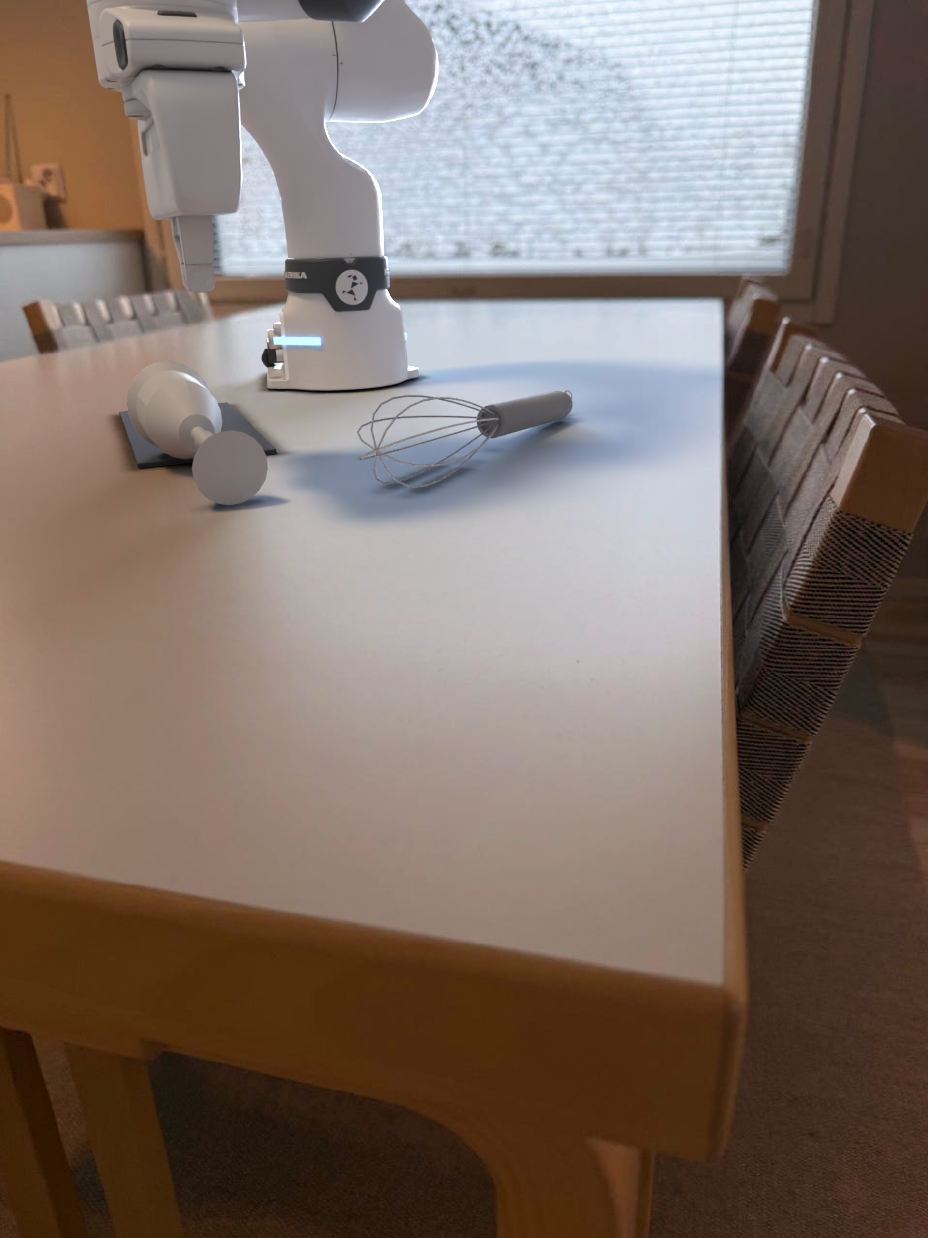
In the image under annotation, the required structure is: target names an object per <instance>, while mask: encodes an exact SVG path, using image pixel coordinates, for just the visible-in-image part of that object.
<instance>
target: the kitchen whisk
mask: <svg viewBox="0 0 928 1238" xmlns="http://www.w3.org/2000/svg"><path fill="white" fill-rule="evenodd" d="M567 392H568V393H569V394H568V393H567ZM402 398H423V399H421V400H418V401H415V402H414V403H412V404H409V405H408V406H407V407H405V408H404V409H403V410H401V411H400V412H399V413H398V414H396V415H395V416H392V417H385V418H380V419H375V415H376V414H377V413H378V411H379V410H380V408H381V407H382V406H383V405H384V404H386V403H389V402H391V401H392V400H397V399H402ZM433 400H434V401H435V400H438V401H443V402H447V403H452V404H455V405H459V406H461V407H462V406H463V407H466V408H468V409H472V410H473V411H478V412H477V416H470V415H467V416H465V415H406V416H405V415H403V416H401V415H402V414H404V413H405V412H407V410H409V409H410V408H411V407H414V406H416V405H419V404H421V403H424V402H429V401H433ZM461 402H463V403H461ZM464 403H465V404H464ZM467 404H470V405H473V406H470V405H467ZM476 407H477V408H476ZM479 408H480V409H479ZM572 409H573V393H572V392H571V391H570V390H568V389H566V390H565V391H560V390H553V391H548V392H545V393H539V394H535V395H529V396H526V397H520V398H516V399H511V400H507V401H502V402H498V403H497V402H496V403H492V404H487V405H485V406H482V405H479V404H478V403H474V402H472V401H469V400H465V399H461V398H457V397H450V396H429V395H421V394H404V395H398V396H393V397H390V398H388V399H385V400H384V401H382V402H380V404H379V405H378V406H377V408H376V409H375V410H374V411H373V413H372V417H371V420H370V421H368V422H365V423H363V424H362V425H360V426H359V428H358V429H357V431H356V434H357V436H358V439H359V440H360V442H361V443H362V444H364V445H365V446H366V447H368V448H370V449H371V450H370V451H369V452H366V453H364V454H362V455H360V456H358V457H357V458H356V460H357V461H364V460H368V459H369V460H370V459H373V458H374V459H373V462H372V463H373V464H372V471H373V476H374V479H375V480H376V481H378V482H380V483H381V484H383V485H389V484H401V485H403V486H405V487H408V488H425V487H429V486H431V485H434V484H437V483H439V482H442V480H444V479H446V478H448V477H449V476H451V475H452V474H454V473H455V472H456V471H457V470H459V469H460V468H461V467H462V466H464V465H465V464H466V463H467V462H468V461H469V460H470V459H471V458H473V456H475V454H476V453H477V452H478V451H479V450H480V449H481V448H482V446H484V445H485V444H487V442H488V441H489V440H490V439H496V438H500V437H504V436H507V435H510V434H514V433H518V432H521V431H525V430H527V429H532V428H536V427H538V426H542V425H546V424H550V423H553V422H557V421H560V420H563V419H565V418H566V417H567V416H568V415H569V414H570V413H571V412H572ZM417 418H452V419H453V418H455V419H456V418H459V419H474V420H469V421H464V422H459V423H455V424H451V425H447V426H442V427H439V428H435V429H430V430H427V431H424V432H421V433H418V434H415V435H411V436H408V437H406V438H403V439H399V440H397V441H394V442H391V443H389V444H386V445H384V446H381V445H382V444H383V443H382V442H383V440H384V438H385V436H386V434H387V431H388V430H389V429H390V428H391V426H392V425H393V424H394V423H395V421H396V420H399V419H417ZM389 420H391V422H390V423H389V424H388V426H387V427H386V428H385V430H384V432H383V434H382V435H381V438H380V441H379V442H378V445H377V442H376V438H375V435H374V431H373V430H374V423H378V422H383V421H389ZM472 423H476V425H475V426H472V427H468V428H466V429H463V430H458V431H456V432H452V433H449V434H446V435H441V436H438V437H435V438H432V439H428V440H424V441H421V442H418V443H414V444H411V445H407V446H404V447H400V448H396V449H393V450H389V451H386V452H381V450H384V449H386V448H389V447H391V446H394V445H396V444H400V443H403V442H405V441H409V440H411V439H415V438H418V437H421V436H424V435H427V434H428V435H429V434H430V433H434V432H438V431H442V430H447V429H450V428H454V427H459V426H462V425H468V424H472ZM370 424H371V425H370ZM368 425H370V434H371V437H372V438H371V439H372V442H373V446H372V445H370V444H369V443H368V442H366V441H365V440H364V439H363V438H362V435H361V434H360V432H361V430H362V429H363V427H366V426H368ZM474 429H478V431H479V432H480V434H478V435H476V437H474V438H473V439H471V440H470V441H469V442H467V443H465V444H464V445H462V446H461V447H460V448H458V449H456V450H455V451H453V452H452V453H451V454H449V455H447V456H445V457H443V458H442V459H441V460H439V461H437V462H436V463H434V464H433V463H432V464H427V463H426V464H425V463H423V464H422V463H412V462H409V461H404V460H401V459H397V458H395V457H392V456H390V455H388V454H392V453H395V452H400V451H403V450H406V449H410V448H413V447H417V446H420V445H423V444H427V443H430V442H431V443H432V442H434V441H437V440H441V439H444V438H447V437H451V436H454V435H458V434H461V433H464V432H468V431H471V430H474ZM481 436H484V437H485V439H484V440H483V441H482V442H481V443H480V445H478V446H477V447H476V448H474V449H473V450H472V451H470V452H469V453H467V454H465V455H462V456H460V457H458V458H456V459H454V460H450V461H446V462H444V461H445V460H447V459H449V458H450V457H452V456H454V455H455V454H457V453H459V452H460V451H461V450H462V449H465V448H466V447H467V446H469V445H470V444H472V443H473V442H474V441H476V440H477V439H478V438H480V437H481ZM373 453H375V454H374V455H372V454H373ZM370 455H371V456H370ZM382 456H384V457H385V458H387V459H390V460H392V461H394V462H398V463H402V464H406V465H409V466H413V467H425V469H423V470H421V471H419V472H416V473H414V474H411V475H410V476H407V477H405V478H402V479H401V478H400V479H397V478H396V477H395V476H394V475H393V474H392V473H391V472H390V471H389V470H388V469H387V467H386V464H385V463H384V460H383V459H382ZM377 458H378V459H379V461H380V463H381V465H382V467H383V469H384V471H385V472H386V473H387V475H389V476H390V477H391V478H392V479H393V481H383V480H382V479H380V478H378V476H377V472H376V468H375V467H376V462H377ZM463 459H465V460H464V461H463V462H462V463H461V464H459V465H458V466H457V467H456V468H454V469H453V470H452V471H451V472H449V473H447V474H446V475H444V476H442V477H441V478H439V479H437V480H435V481H431V482H429V483H426V484H421V485H420V484H418V485H417V484H415V485H414V484H413V485H410V484H408V483H405V482H403V481H407V480H410V479H412V478H414V477H416V476H418V475H421V474H423V473H424V472H426V471H429V470H430V469H432V468H434V467H439V466H445V465H449V464H453V463H457V462H459V461H461V460H463ZM426 467H427V468H426Z"/></svg>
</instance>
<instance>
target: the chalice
mask: <svg viewBox="0 0 928 1238" xmlns="http://www.w3.org/2000/svg"><path fill="white" fill-rule="evenodd" d="M133 377H134V378H133V380H132V381H131V384H130V385H129V388H128V390H127V400H126V407H127V411H128V413H129V418H130V420H131V422H132V424H133V426H134V428H135V429H136V431H137V432H138V433H139V434H140V435H141V436H142V437H143V438H144V439H145V440H146V441H148V442H150V443H151V444H153V445H155V446H157V447H158V448H159V449H160V450H161V451H163V452H164V453H166V454H168V455H170V456H171V457H175V458H180V459H191V458H194V460H193V463H192V466H191V471H192V479H193V482H194V483H195V485H196V488H197V489H198V492H200V493H201V494H202V495H203V496H204V497H205V499H208V500H209V501H212V502H213V503H216V504H218V505H226V506H232V505H239V504H242V503H244V502H246V501H249V500H250V499H252V498H253V497H254V496H255V495H256V494H258V492H259V491H260V490H261V489H262V486H263V485H264V483H265V482H266V479H267V474H268V470H269V466H268V457H267V455H265V452H264V450H263V448H262V446H261V445H260V444H259V443H258V442H257V441H256V440H255V439H254V438H253V437H251V436H249V435H247V434H246V433H244V432H238V431H233V430H231V431H224V432H221V427H222V416H221V410H220V407H219V405H218V403H219V402H218V401H217V399H216V398H215V396H214V395H213V394H212V393H211V392H210V389H209V387H208V385H207V382H206V381H205V380H204V379H203V377H201V375H200V374H199V373H198V372H197V371H196V370H194V369H193V368H191V367H190V366H188V365H187V364H185V363H181V362H177V361H174V360H164V361H163V360H161V361H155V362H153V363H150V364H149V365H146V366H145V367H143V368H142V369H141V370H140V371H139V372H138V373H137V374H136V375H135V376H133Z"/></svg>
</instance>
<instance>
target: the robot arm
mask: <svg viewBox="0 0 928 1238" xmlns="http://www.w3.org/2000/svg"><path fill="white" fill-rule="evenodd" d="M85 1H86V7H87V13H88V20H89V27H90V32H91V39H92V40H91V41H92V46H93V47H92V48H93V53H94V58H95V66H96V71H97V72H96V73H97V79H98V84H99V85H100V86H101V87H102V88H104V89H106V90H109V91H114V92H118V93H121V96H122V101H123V110H124V115H125V116H126V117H127V118H128V119H131V120H135V121H137V135H138V142H139V143H138V144H139V151H140V158H141V159H140V160H141V167H142V174H143V183H144V190H145V197H146V203H147V208H148V211H149V214H150V217H151V218H152V219H153V220H155V221H170V229H171V236H172V240H173V243H174V244H173V245H174V247H175V251H176V255H177V258H178V262H179V266H180V272H181V280H182V281H181V282H182V286H183V288H184V289H185V290H186V291H188V292H191V293H194V294H201V293H204V294H205V293H212V292H213V291H214V290H215V289H216V278H215V269H214V256H215V255H214V249H215V231H214V224H213V217H219V216H225V215H232V214H235V213H237V212H238V211H239V210H240V205H241V200H242V199H241V198H242V186H243V185H242V184H243V167H242V166H243V164H242V162H243V161H242V135H241V126H242V127H243V128H244V129H245V130H246V131H247V132H248V133H249V135H250V136H251V137H252V138H253V140H254V141H255V142H256V144H257V146H258V147H259V148H260V150H261V151H262V153H263V154H264V157H265V158H266V160H267V162H268V164H269V166H270V169H271V171H272V174H273V176H274V179H275V183H276V186H277V190H278V194H279V200H280V206H281V210H282V211H281V212H282V219H283V224H284V225H283V226H284V232H285V243H286V252H287V258H285V260H284V272H283V277H284V282H285V283H284V286H285V287H284V288H285V291H286V292H288V293H287V297H286V302H285V304H284V307H283V308H281V312H280V313H279V314H278V315H279V322H275V323H272V328H271V329H267V331H266V332H267V338H266V348H264V349H263V352H262V354H261V357H260V359H261V363H262V364H263V365H264V367H266V368H267V369H266V370H267V372H266V373H267V375H266V376H267V377H266V389H271V390H304V391H350V390H363V389H373V388H380V387H381V388H382V387H386V386H392V385H396V384H397V385H398V384H400V383H402V382H404V381H407V380H411V379H416V378H418V377H420V376H421V375H420V370H419V367H415V366H410V365H409V363H408V362H409V361H408V352H407V351H408V350H407V340H408V333H407V332H405V323H404V313H403V309H402V307H401V306H400V305H399V304H398V303H397V302H396V301H394V299H393V298H392V297H391V296H390V293H389V291H388V289H389V288H390V287H391V281H390V275H391V269H390V266H389V258H388V256H386V255H385V245H384V228H383V226H384V225H383V210H382V209H383V207H382V192H381V189H380V186H379V184H378V181H377V180H376V178H375V177H374V175H373V174H372V173H371V172H370V171H369V170H368V169H367V168H366V167H364V166H363V165H361V164H360V163H359V162H357V161H355V160H353V159H351V158H349V157H348V156H346V155H344V154H342V153H340V152H339V150H338V149H337V148H336V147H335V145H334V144H333V143H332V140H331V138H330V137H329V134H328V131H327V127H326V123H327V122H331V123H332V122H333V123H335V122H336V123H378V124H380V123H386V122H391V121H397V120H402V119H406V118H410V117H413V116H417V115H419V114H421V113H422V112H423V111H424V109H425V108H426V107H427V106H428V105H429V102H430V100H431V99H432V97H433V95H434V92H435V89H436V86H437V82H438V76H439V58H438V52H437V47H436V44H435V41H434V39H433V36H432V34H431V32H430V30H429V28H428V27H427V26H426V24H425V23H424V21H423V20H422V19H421V18H420V17H419V16H418V15H417V14H416V13H415V12H414V11H413V10H412V9H411V7H410V6H409V5H408V3H406V2H405V0H85Z"/></svg>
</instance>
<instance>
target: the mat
mask: <svg viewBox="0 0 928 1238" xmlns="http://www.w3.org/2000/svg"><path fill="white" fill-rule="evenodd" d="M217 403H218V405H219V407H220V410H221V416H222V427H221V432H224V431H231V430H233V431H238V432H244V433H246V434H247V435H249V436H251V437H253V438H254V439H255V440H256V441H257V442H258V443H259V444H260V445H261V446H262V448H263V450H264V452H265V455H266V456H267V455H269V456H270V455H276V454H277V453H278V451H277V448H276V447H275V446H274V445H272V444H271V443H270V441H268V439H266V438H265V437H264V436H263V435H262V434H261V433H260V432H259V431H258V430H257V429H256V428H255V427H253V425H252V424H251V423H250V422H248V420H246V419H245V418H244V417H243V416H242V415H241V413H239V412H238V411H237V410H236V409H235V408H234V407H233V406H232V405H230V403H229V402H227V401H226V402H217ZM118 413H119V417H120V420H121V423H122V426H123V428H124V431H125V434H126V438H127V440H128V443H129V446H130V448H131V451H132V454H133V457H134V461H135V463H136V466H137V469H146V468H147V469H148V468H157V467H165V466H166V467H167V466H175V465H184V464H185V465H186V464H193V460H194V458H191V459H180V458H175V457H171V456H170V455H168V454H166V453H164V452H163V451H161V450H160V449H159V448H158V447H157V446H155V445H153V444H151V443H150V442H148V441H146V440H145V439H144V438H143V437H142V436H141V435H140V434H139V433H138V432H137V431H136V429H135V428H134V426H133V424H132V422H131V420H130V418H129V413H128V410H122V411H121V410H120V411H119V412H118Z"/></svg>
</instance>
